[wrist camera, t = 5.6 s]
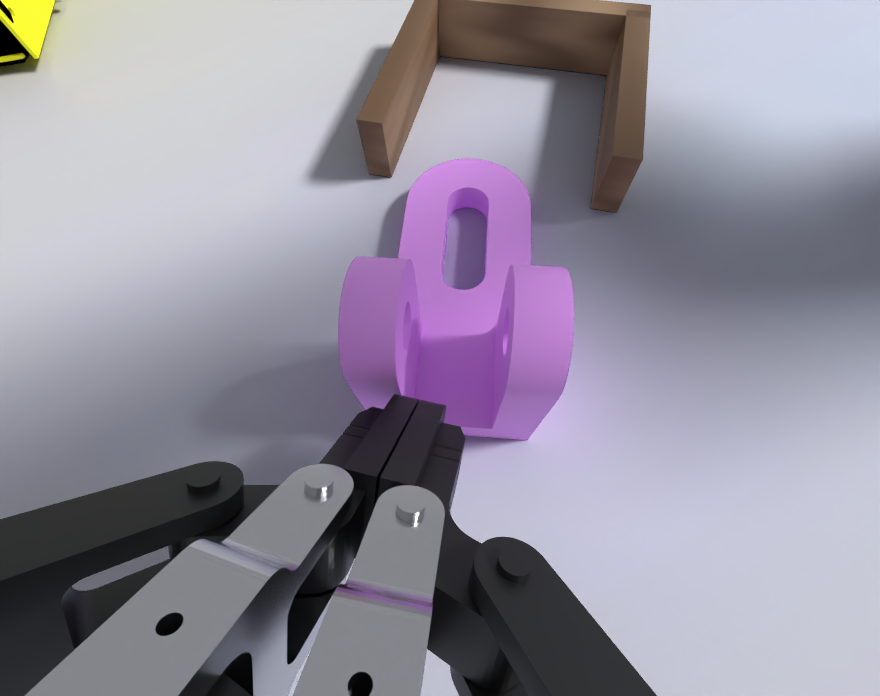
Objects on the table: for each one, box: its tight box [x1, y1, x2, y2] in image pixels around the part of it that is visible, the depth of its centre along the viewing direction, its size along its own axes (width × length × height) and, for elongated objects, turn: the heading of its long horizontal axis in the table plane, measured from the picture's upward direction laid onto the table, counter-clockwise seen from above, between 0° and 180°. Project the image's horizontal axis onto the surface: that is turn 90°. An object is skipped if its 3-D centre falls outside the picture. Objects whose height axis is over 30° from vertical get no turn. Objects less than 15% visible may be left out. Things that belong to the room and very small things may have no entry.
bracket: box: [338, 159, 574, 440], centre depth 15 cm, size 13×6×7 cm, turn 175°
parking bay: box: [357, 0, 651, 212], centre depth 21 cm, size 12×12×3 cm
